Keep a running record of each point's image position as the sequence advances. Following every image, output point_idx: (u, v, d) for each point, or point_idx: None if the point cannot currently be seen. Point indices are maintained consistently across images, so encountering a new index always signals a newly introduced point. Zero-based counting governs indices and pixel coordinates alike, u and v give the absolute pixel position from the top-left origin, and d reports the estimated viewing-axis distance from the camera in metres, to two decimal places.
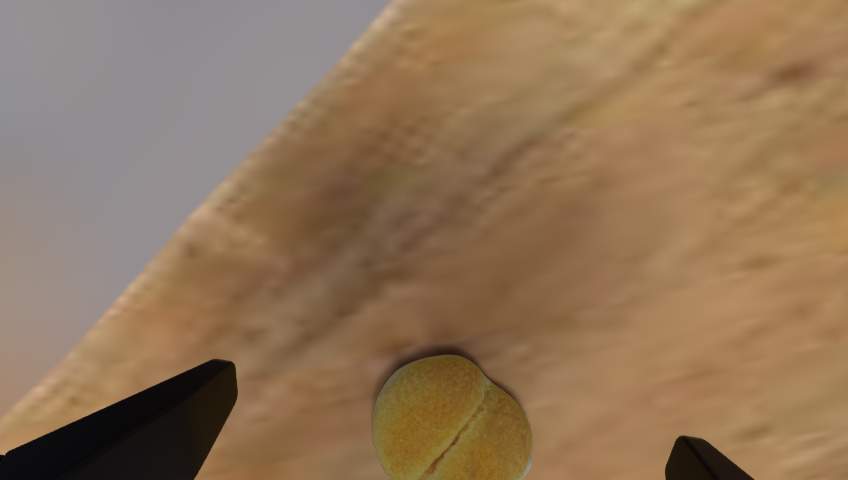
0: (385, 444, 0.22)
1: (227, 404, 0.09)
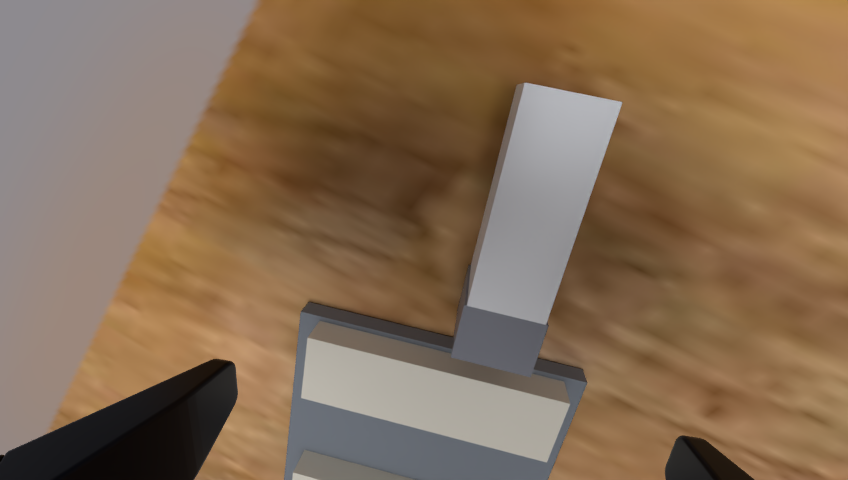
0: None
1: (227, 404, 0.09)
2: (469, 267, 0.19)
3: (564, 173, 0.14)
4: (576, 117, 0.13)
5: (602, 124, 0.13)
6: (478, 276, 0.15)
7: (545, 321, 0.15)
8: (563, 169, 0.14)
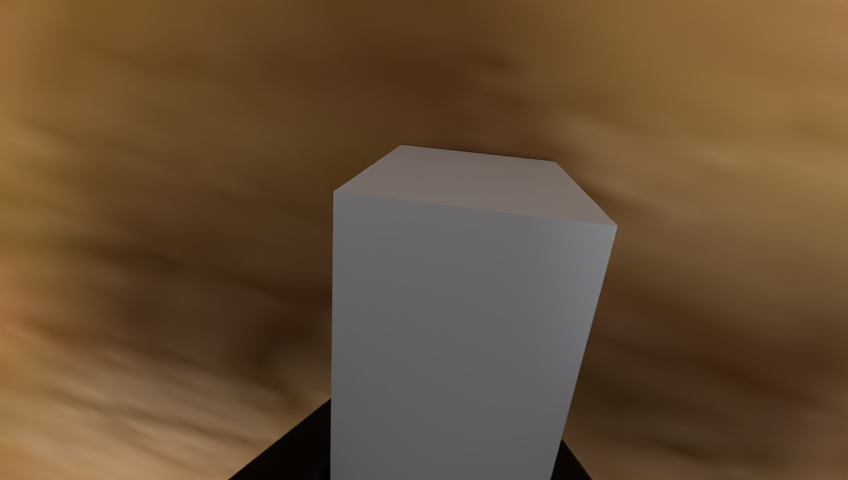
0: None
1: None
2: None
3: (485, 400, 0.05)
4: (491, 272, 0.05)
5: (567, 286, 0.05)
6: None
7: None
8: (481, 392, 0.05)
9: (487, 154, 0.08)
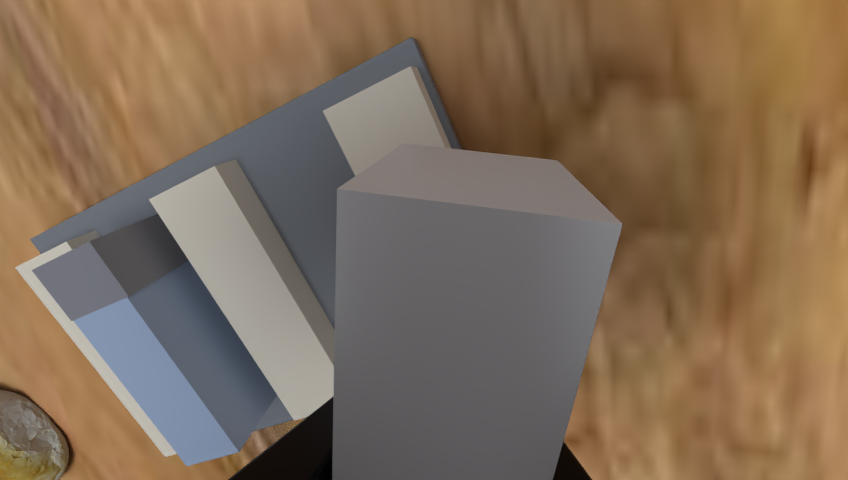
0: None
1: None
2: None
3: (488, 399, 0.05)
4: (494, 270, 0.05)
5: (571, 284, 0.05)
6: None
7: None
8: (483, 391, 0.05)
9: (489, 153, 0.08)
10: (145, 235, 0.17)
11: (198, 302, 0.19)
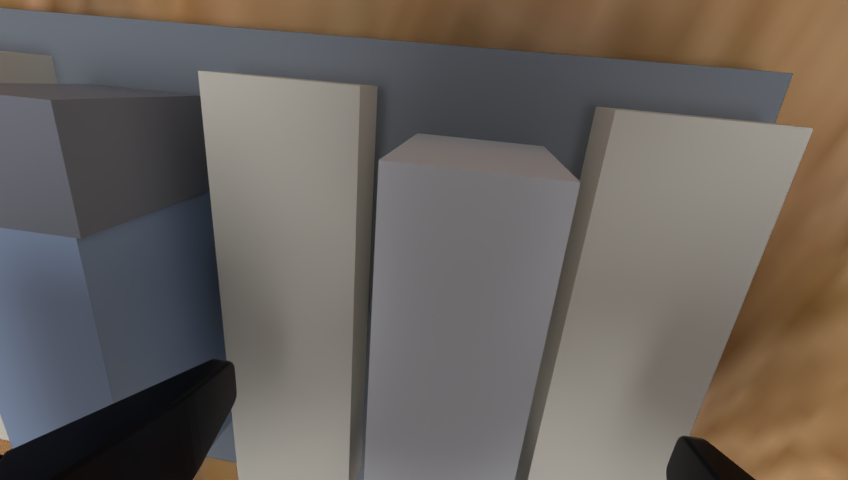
0: None
1: (226, 404, 0.09)
2: None
3: (487, 317, 0.07)
4: (491, 218, 0.06)
5: (546, 227, 0.06)
6: None
7: None
8: (484, 312, 0.07)
9: (488, 140, 0.10)
10: (156, 128, 0.09)
11: (185, 268, 0.11)
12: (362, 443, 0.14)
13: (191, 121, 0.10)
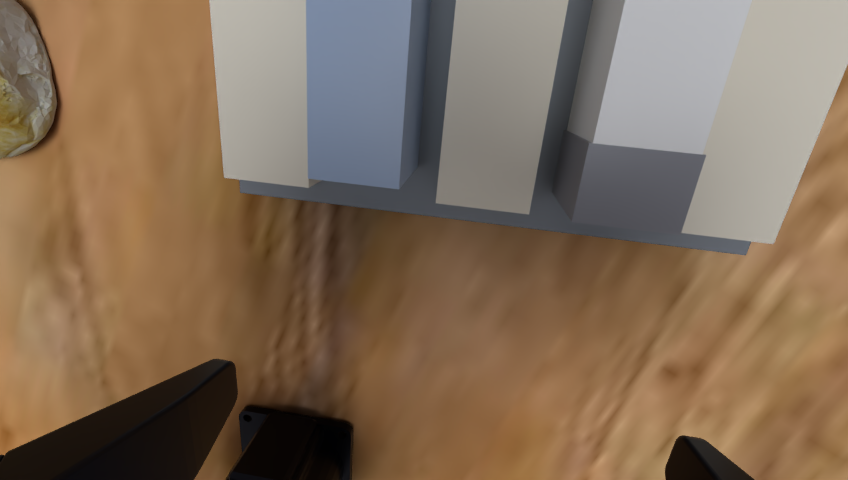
0: None
1: (227, 404, 0.09)
2: (567, 130, 0.15)
3: None
4: None
5: None
6: (609, 96, 0.12)
7: (702, 149, 0.12)
8: None
9: None
10: None
11: None
12: None
13: None
